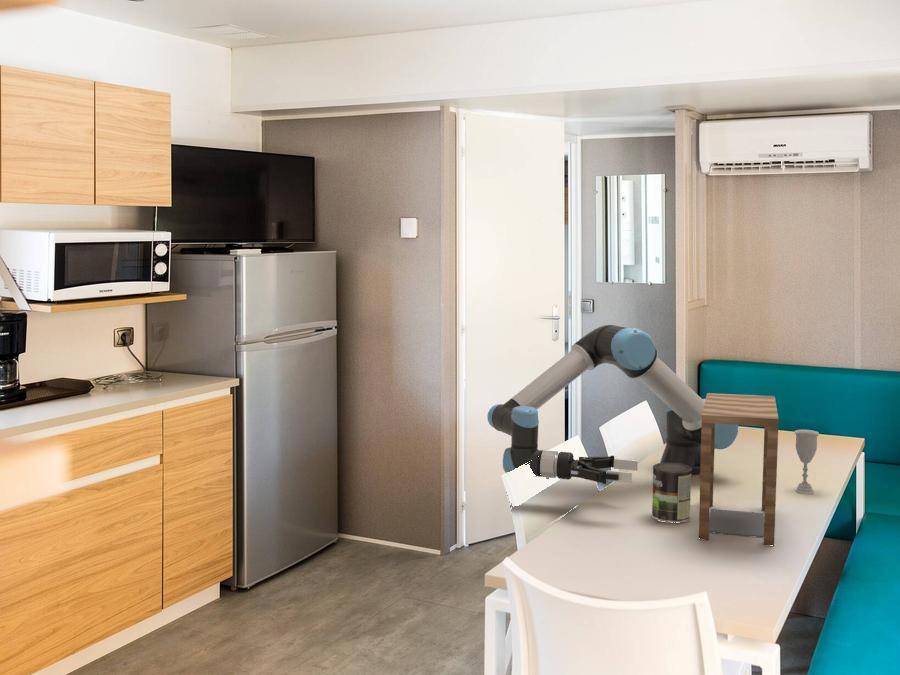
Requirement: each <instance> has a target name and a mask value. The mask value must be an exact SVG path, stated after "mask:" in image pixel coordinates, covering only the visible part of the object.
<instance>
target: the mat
mask: <svg viewBox="0 0 900 675" xmlns="http://www.w3.org/2000/svg"><path fill="white" fill-rule="evenodd" d="M764 517H765V512H755V511H742V510H741V511H740V510H730V509H720V508H718V509H717V508H710V512H709V532H715V533H714V534H718V533H723V534H722V535H729V534H732V535H731V536H739V535H742V537H750V536H756V537H755V538H761V537H764Z"/></svg>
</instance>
